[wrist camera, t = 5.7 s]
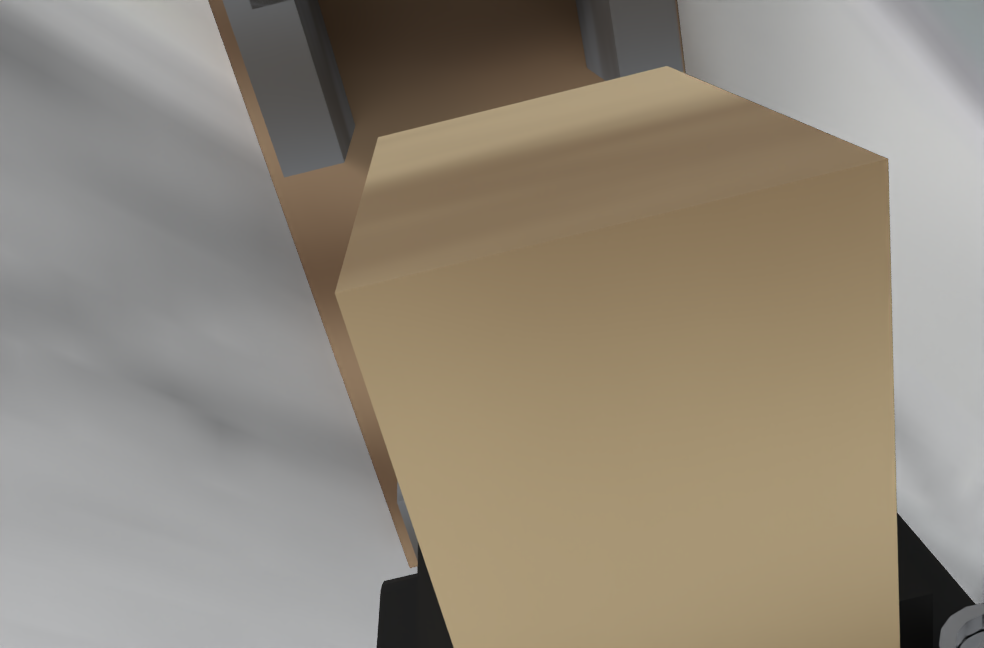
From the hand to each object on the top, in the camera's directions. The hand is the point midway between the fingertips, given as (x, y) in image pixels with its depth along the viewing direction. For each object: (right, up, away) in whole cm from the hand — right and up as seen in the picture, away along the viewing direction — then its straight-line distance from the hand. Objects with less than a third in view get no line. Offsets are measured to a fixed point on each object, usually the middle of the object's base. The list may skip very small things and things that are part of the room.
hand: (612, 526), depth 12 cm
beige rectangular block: (0, 0, 0) cm, 1 cm away
